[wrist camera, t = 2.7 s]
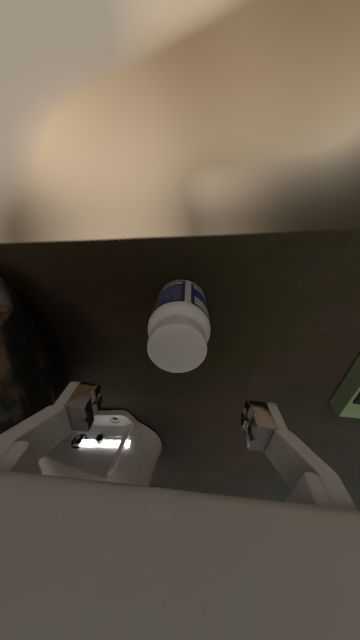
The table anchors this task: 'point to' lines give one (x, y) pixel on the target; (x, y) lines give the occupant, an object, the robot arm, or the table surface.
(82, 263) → the table surface
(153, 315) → the pill bottle
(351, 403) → the scale
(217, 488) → the table surface
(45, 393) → the bowl
